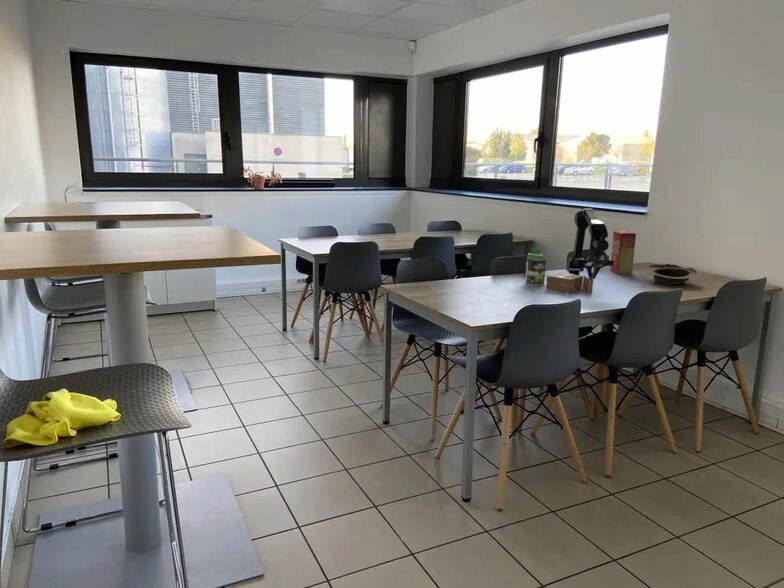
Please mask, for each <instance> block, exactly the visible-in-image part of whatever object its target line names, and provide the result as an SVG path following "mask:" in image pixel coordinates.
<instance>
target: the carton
mask: <svg viewBox="0 0 784 588" xmlns="http://www.w3.org/2000/svg"><path fill="white" fill-rule="evenodd" d="M583 278H584V275H580V274H579V275H574V274H569V272H562V271H561V272H560V271H559V272H555V273H552V274H549V275H546V285H545V290H546V291H550V290H552V291H551V292H556V291H557V293H561V292H562V294H567V293H568V294H567V295H571V294H574V293H576V292H579V291H582V290H583V289H582V288H583Z"/></svg>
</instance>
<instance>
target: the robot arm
mask: <svg viewBox="0 0 784 588" xmlns="http://www.w3.org/2000/svg"><path fill="white" fill-rule="evenodd" d="M573 219H574V220H573V221H574V224H575V227H576V232H575V233H576V234H575V239H574V245H573V246H574V247H573V253H571V254H570V256H569V258H568V261H567V263H566V264H565V271H567V272H568V273H569V274H574V275H580V272H584V269H586V272H587V276H588V278H589V279H591V273H592V272H593V273H594V278H593V280H595V279H596V277H597V275H598V274H599V271H601V269H602V268H604V267H605V265H606V266H609V267H611V266H614V261H613V260H612V259H611V258H610V256H609V254H607V255H605V254H603V252H605V251H607V250H608V248H609V246H610V244H609V242H608V240H606V239H607V238H608V235H609V233H608V229H607V226H606V224H605V223H604V222H603V221H601V220H599V219H598V217H597V216H596V214H595V211H594V209H593V208H583V209H582V210H580V211H577V212H576V213H575V214H574V218H573ZM587 229H588V233H589V237H590V240H589V248H588V250H587V252H588V257H586V258H587V259H585V258H584V256H583V250H584V249H583V248H584V244H585V243H584V242H585V237H586V231H587ZM592 270H593V271H592Z"/></svg>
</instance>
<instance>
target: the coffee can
mask: <svg viewBox="0 0 784 588" xmlns="http://www.w3.org/2000/svg"><path fill="white" fill-rule="evenodd" d="M546 263H547V259H546V258H544V257H543V258H537V257H530V258H527V257H526V264H527V266H525V282H524V284H525V285H527V286H533V287H542V286H545V275H546Z"/></svg>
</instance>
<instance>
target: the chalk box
mask: <svg viewBox="0 0 784 588" xmlns="http://www.w3.org/2000/svg"><path fill="white" fill-rule="evenodd" d="M535 251H536V252H535ZM540 252H541V250H540V248H534V247H533V248H531V252H528V253H527V255H526V259H527V258H530V257H537V258H544V254H543V253H540ZM525 265H526V266H527V263H526V264H525ZM526 266H525V267H526Z"/></svg>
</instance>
